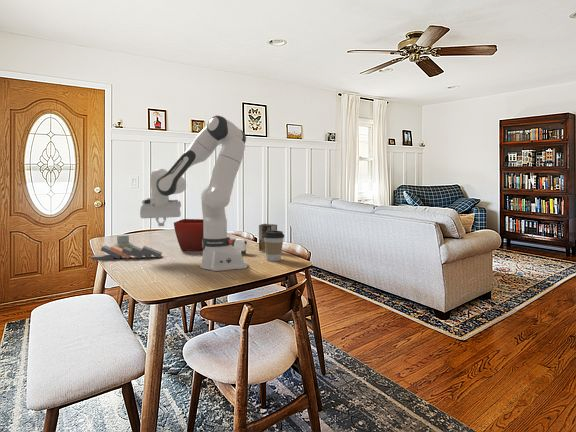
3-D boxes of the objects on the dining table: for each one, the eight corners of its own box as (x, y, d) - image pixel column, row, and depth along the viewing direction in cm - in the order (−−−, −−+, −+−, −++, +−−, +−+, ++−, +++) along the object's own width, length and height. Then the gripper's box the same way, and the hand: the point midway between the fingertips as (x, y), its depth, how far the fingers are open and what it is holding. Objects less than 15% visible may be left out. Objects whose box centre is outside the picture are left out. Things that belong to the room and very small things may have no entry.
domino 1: (115, 254, 190) (94, 254, 188) (113, 256, 186) (91, 256, 183) (115, 258, 191) (95, 258, 188) (113, 260, 186) (92, 260, 184)
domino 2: (123, 253, 191) (105, 245, 189) (121, 255, 186) (102, 246, 184) (121, 257, 191) (103, 248, 189) (119, 258, 186) (100, 250, 184)
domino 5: (152, 252, 194) (134, 245, 191) (151, 254, 189) (132, 247, 186) (151, 256, 194) (132, 249, 191) (149, 258, 189) (131, 251, 186)
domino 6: (162, 252, 195) (144, 245, 192) (161, 254, 190) (142, 247, 188) (160, 256, 195) (142, 249, 192) (159, 258, 190) (141, 250, 188)
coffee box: (277, 251, 211) (277, 224, 210) (271, 253, 206) (271, 225, 204) (264, 249, 216) (265, 223, 214) (258, 251, 211) (258, 224, 209)
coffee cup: (288, 259, 190) (289, 231, 189) (273, 263, 182) (273, 234, 180) (273, 256, 198) (273, 229, 196) (258, 259, 190) (258, 231, 188)
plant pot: (206, 252, 208) (206, 223, 206) (173, 251, 208) (173, 222, 206) (213, 245, 227) (213, 219, 225) (183, 245, 227) (183, 218, 225)
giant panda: (248, 253, 206) (248, 236, 205) (245, 255, 200) (245, 238, 200) (223, 252, 208) (223, 235, 207) (220, 254, 203) (220, 237, 202)
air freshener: (114, 255, 196) (114, 237, 195) (111, 252, 202) (110, 235, 201) (135, 252, 203) (135, 235, 202) (131, 250, 209) (131, 233, 208)
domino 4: (143, 253, 193) (125, 246, 190) (142, 255, 188) (123, 248, 186) (142, 256, 193) (123, 250, 190) (140, 258, 188) (121, 251, 186)
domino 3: (131, 253, 192) (114, 245, 190) (129, 255, 187) (111, 246, 185) (130, 256, 192) (112, 248, 190) (127, 258, 187) (109, 250, 185)
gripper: (180, 199, 195) (182, 224, 196) (140, 200, 190) (142, 226, 192) (180, 200, 189) (181, 226, 190) (138, 201, 184) (140, 227, 186)
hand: (161, 226), depth 191 cm, fingers closed
